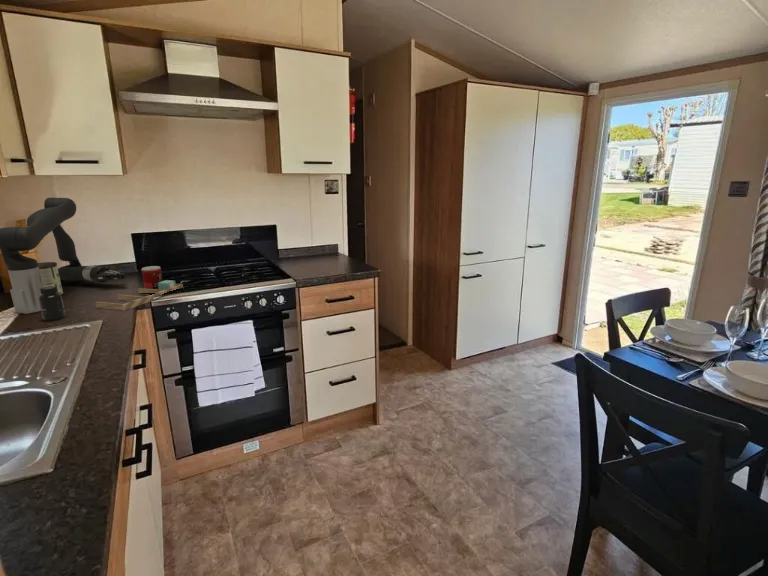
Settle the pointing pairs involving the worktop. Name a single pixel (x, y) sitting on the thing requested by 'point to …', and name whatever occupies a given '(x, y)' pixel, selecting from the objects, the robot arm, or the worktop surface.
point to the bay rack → (135, 299)
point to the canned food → (151, 277)
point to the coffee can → (50, 275)
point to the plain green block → (166, 284)
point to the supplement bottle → (51, 304)
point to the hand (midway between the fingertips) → (124, 276)
